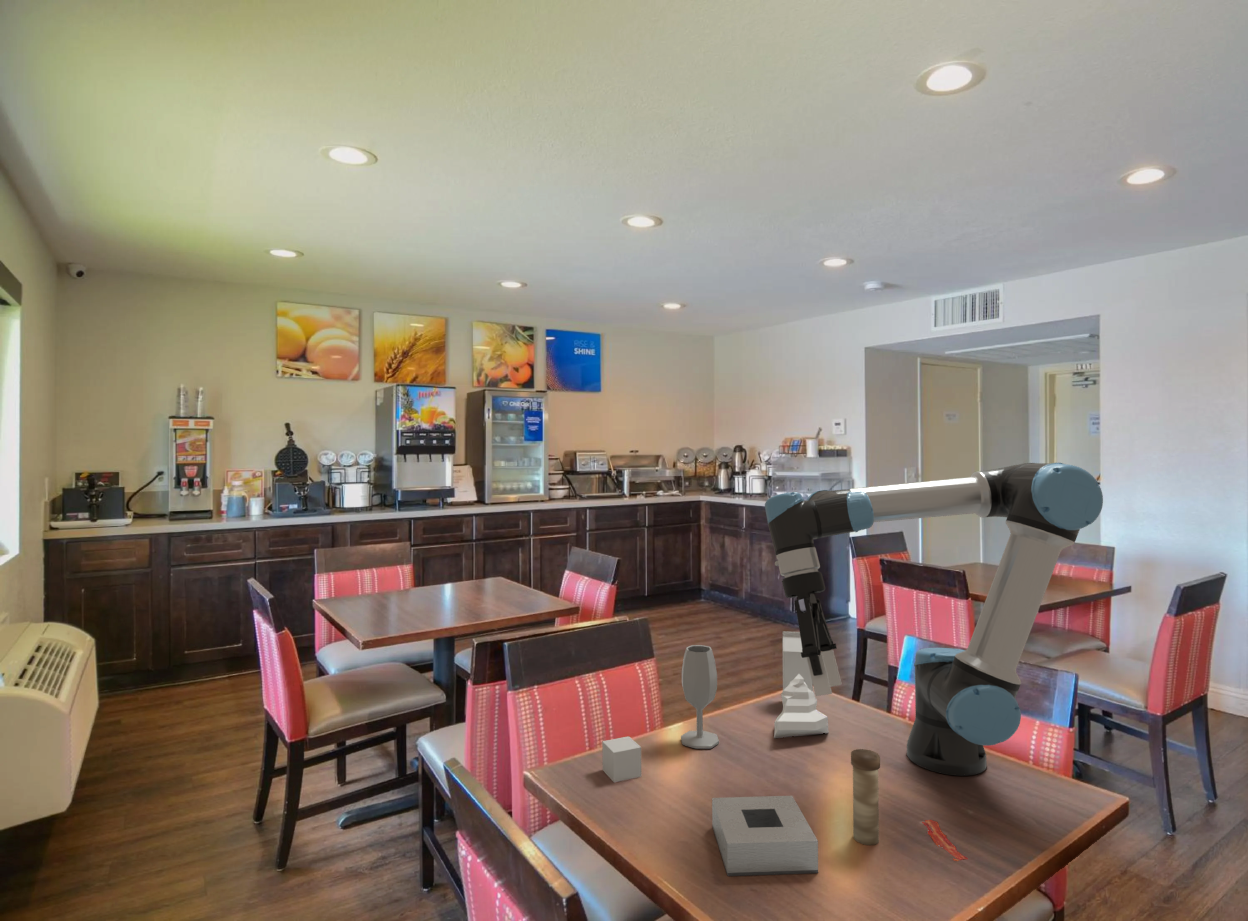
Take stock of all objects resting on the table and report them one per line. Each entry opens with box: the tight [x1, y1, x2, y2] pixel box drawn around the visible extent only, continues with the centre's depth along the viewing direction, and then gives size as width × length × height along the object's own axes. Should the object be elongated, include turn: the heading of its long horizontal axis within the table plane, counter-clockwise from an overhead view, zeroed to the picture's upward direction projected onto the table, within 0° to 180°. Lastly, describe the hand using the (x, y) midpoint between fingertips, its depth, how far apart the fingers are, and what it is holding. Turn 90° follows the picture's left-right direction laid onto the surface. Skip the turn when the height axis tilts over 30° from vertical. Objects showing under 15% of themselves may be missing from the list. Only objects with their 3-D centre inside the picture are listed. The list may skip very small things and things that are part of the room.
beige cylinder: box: [850, 748, 881, 846], centre depth 115 cm, size 5×5×14 cm
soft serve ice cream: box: [773, 674, 829, 739], centre depth 159 cm, size 12×15×14 cm
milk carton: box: [781, 631, 814, 692], centre depth 175 cm, size 7×7×19 cm
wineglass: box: [680, 644, 720, 750], centre depth 154 cm, size 9×9×21 cm
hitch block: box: [711, 795, 819, 877], centre depth 112 cm, size 14×14×5 cm
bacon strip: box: [921, 819, 969, 862], centre depth 116 cm, size 4×15×1 cm, turn 2°
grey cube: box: [601, 736, 642, 783], centre depth 139 cm, size 6×6×6 cm
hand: (829, 690), depth 124 cm, fingers open, 13 cm apart
